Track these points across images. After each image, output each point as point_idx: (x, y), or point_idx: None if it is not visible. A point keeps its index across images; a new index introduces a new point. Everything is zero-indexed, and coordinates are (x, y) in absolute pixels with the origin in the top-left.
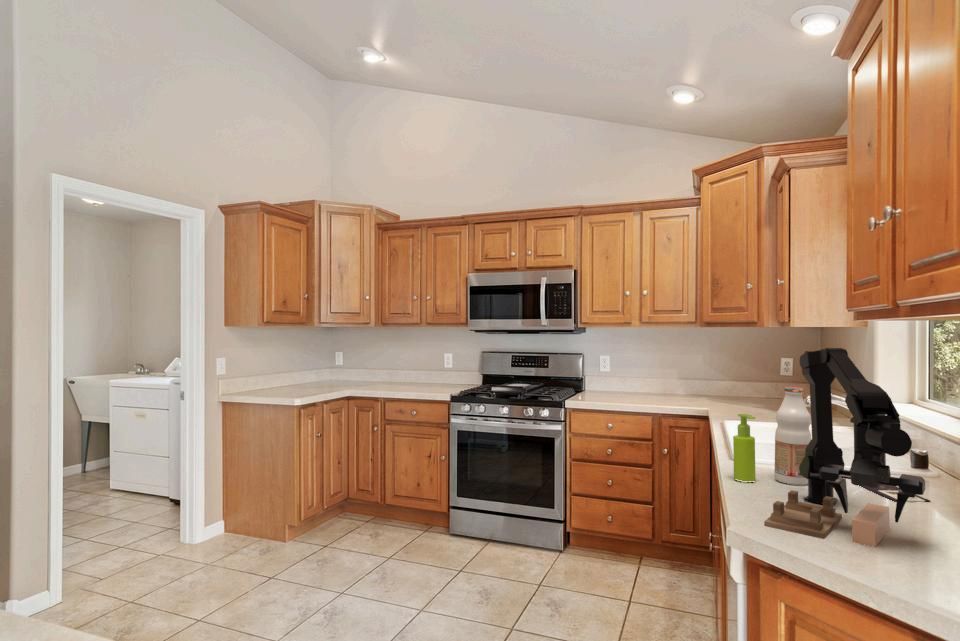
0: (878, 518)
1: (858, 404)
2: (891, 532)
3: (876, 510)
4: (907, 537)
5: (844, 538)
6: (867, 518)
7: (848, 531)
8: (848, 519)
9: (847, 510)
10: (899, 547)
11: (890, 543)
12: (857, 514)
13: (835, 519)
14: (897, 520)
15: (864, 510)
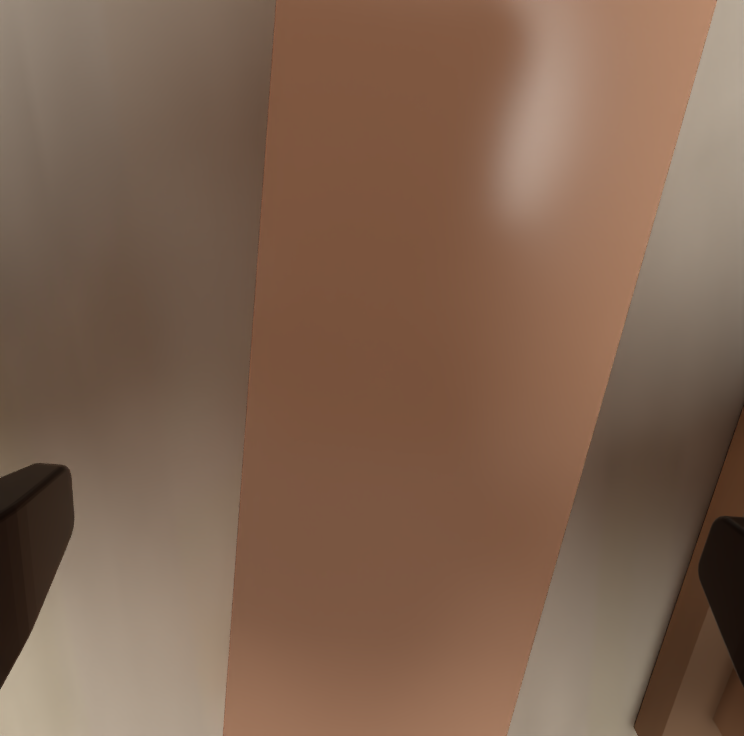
0: (266, 290)
1: None
2: (219, 585)
3: (333, 724)
4: None
5: None
6: (449, 158)
7: None
8: (580, 728)
9: (716, 575)
10: (74, 99)
11: (181, 199)
12: (613, 332)
13: None
14: (18, 471)
15: (492, 635)
